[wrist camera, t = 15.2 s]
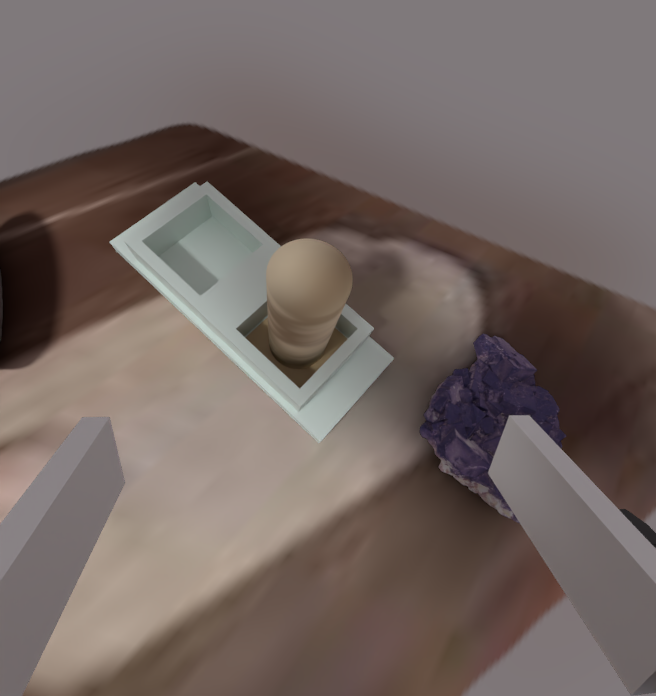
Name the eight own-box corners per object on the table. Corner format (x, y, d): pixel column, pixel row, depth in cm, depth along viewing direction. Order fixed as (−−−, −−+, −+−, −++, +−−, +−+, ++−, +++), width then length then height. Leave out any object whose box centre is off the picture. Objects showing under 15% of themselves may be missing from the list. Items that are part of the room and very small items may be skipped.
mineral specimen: (563, 408, 37) (600, 400, 33) (496, 524, 32) (529, 531, 28) (474, 333, 38) (499, 316, 34) (396, 434, 33) (414, 428, 29)
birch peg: (256, 343, 32) (247, 277, 21) (294, 304, 34) (305, 223, 22) (300, 380, 32) (315, 334, 20) (336, 339, 33) (369, 275, 22)
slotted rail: (116, 251, 35) (93, 221, 31) (198, 192, 38) (188, 158, 34) (318, 443, 32) (324, 439, 28) (389, 362, 35) (405, 348, 31)
